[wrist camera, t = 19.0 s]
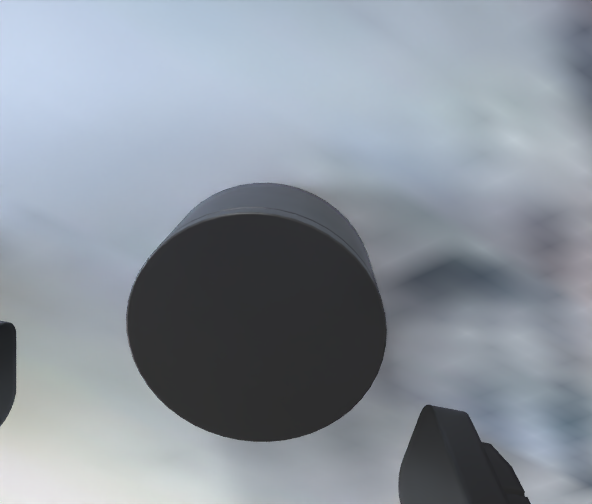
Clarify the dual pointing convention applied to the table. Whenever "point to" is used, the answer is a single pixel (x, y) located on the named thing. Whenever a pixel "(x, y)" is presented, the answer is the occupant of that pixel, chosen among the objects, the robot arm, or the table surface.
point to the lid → (258, 315)
